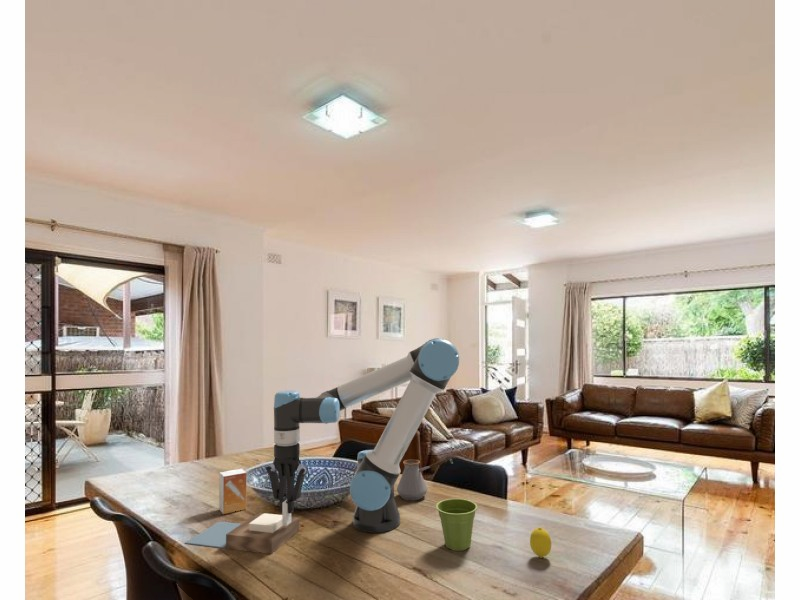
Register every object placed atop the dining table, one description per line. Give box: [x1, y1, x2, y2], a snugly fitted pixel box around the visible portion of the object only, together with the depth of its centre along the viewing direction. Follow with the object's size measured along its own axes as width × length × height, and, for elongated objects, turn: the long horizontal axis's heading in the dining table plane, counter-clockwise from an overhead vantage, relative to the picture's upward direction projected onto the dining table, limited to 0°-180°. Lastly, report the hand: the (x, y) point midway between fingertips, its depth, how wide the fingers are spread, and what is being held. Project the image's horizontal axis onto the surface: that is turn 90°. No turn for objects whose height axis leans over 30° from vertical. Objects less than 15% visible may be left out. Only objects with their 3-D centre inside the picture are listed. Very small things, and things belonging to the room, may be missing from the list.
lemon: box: [529, 526, 552, 559], centre depth 129 cm, size 6×6×8 cm
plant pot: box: [435, 498, 478, 552], centre depth 137 cm, size 12×12×11 cm
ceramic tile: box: [249, 512, 283, 533], centre depth 144 cm, size 8×8×2 cm
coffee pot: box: [396, 457, 454, 501], centre depth 177 cm, size 21×12×15 cm, turn 73°
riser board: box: [225, 513, 300, 555], centre depth 144 cm, size 15×16×4 cm
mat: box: [184, 521, 242, 549], centre depth 148 cm, size 14×16×1 cm
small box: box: [218, 468, 247, 515], centre depth 169 cm, size 8×6×13 cm
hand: (286, 523), depth 142 cm, fingers closed
